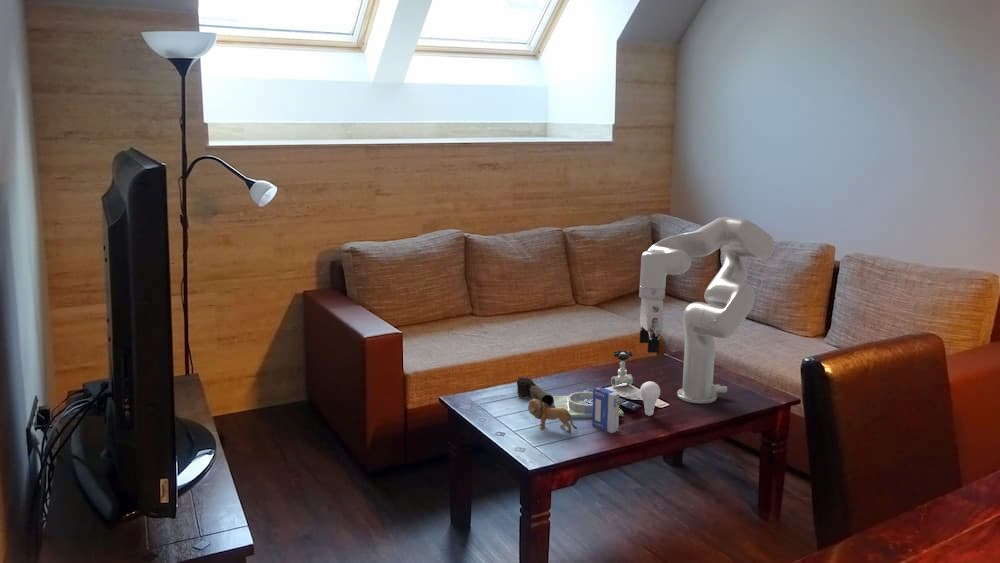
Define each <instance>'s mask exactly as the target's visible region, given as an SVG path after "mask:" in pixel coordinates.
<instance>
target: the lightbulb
mask: <svg viewBox="0 0 1000 563" xmlns="http://www.w3.org/2000/svg"><path fill="white" fill-rule="evenodd" d="M639 394H640V396H641V399H642V400H643V406H644V413H645V415H647V416H648V417H651V416H652V415H654V410H655V408H656V407H655V406H656V402H657V400H658V399H659V398H660V395H661V388H660V386H659V385H658V383H657V382H654V381H645V382H644V383H642V384H641V386H640V389H639Z"/></svg>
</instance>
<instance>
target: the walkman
mask: <svg viewBox="0 0 1000 563" xmlns="http://www.w3.org/2000/svg"><path fill="white" fill-rule="evenodd" d="M592 392H593V415H592V418H591V419H592V420H591V425H592V426H593V427H596V428H598V429H600V430H603V431H605V432H607V433H610V434H613V433H617V432H619V424H620V423H619V421H620V420H619V419H620V417H619V407H620V393H618V392H616V391H612V390H610V389H608V388H604V387H601V386H597V387H595V388H593V390H592ZM616 431H617V432H616Z"/></svg>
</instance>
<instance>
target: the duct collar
mask: <svg viewBox="0 0 1000 563" xmlns="http://www.w3.org/2000/svg"><path fill="white" fill-rule="evenodd" d="M552 396H553V398H554V402H553V404H552V406H553V408H564V409H566V410H567V411H568V412H569V413H570V415H571V418H572V420H573V419H592V415H593V404H588V403H586V402H585V401H584V400H585V399H590V398H591V399H593V391H576V392H573V393H572V392H571V393H570V394H569V395H552ZM620 408H621V407H620ZM620 408H619V409H620ZM624 414H625V413H624V411H623V410H622V408H621V409H620V410H619V416H622V417H623V416H624ZM622 417H621V418H622ZM623 418H624V417H623ZM558 420H560V418H558ZM567 420H570V419H569V416H567Z"/></svg>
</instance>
